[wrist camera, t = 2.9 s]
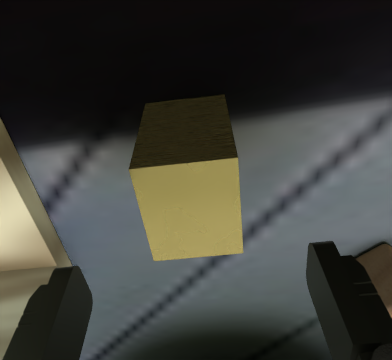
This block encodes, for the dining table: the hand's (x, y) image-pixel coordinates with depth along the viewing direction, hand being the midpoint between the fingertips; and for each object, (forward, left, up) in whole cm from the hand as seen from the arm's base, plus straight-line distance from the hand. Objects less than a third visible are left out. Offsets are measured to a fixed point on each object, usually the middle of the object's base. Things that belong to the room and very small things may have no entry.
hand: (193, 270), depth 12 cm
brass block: (0, 0, -9) cm, 9 cm away
